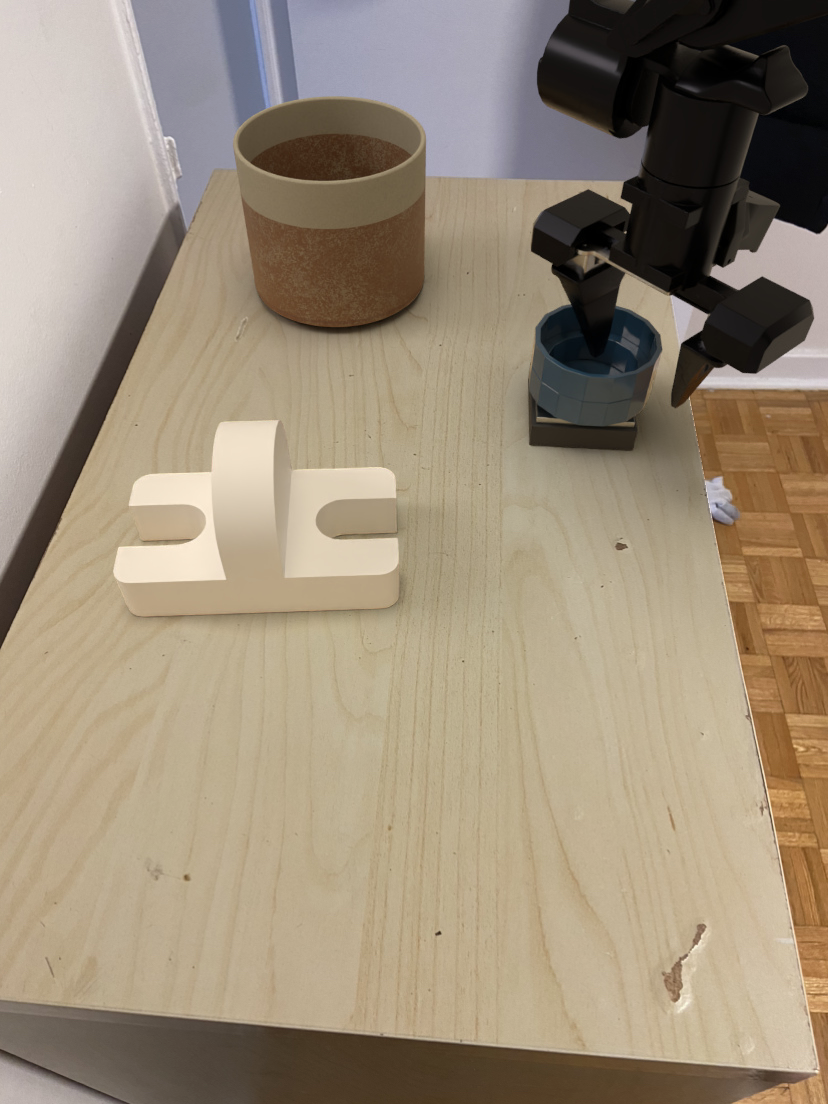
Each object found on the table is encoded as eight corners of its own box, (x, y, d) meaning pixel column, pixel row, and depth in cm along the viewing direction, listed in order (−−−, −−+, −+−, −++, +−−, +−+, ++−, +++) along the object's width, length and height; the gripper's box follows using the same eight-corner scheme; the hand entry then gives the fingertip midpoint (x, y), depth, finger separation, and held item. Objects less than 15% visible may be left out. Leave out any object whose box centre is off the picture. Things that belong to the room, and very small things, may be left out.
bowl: (668, 417, 64) (684, 364, 60) (556, 441, 62) (565, 388, 58) (615, 346, 69) (626, 293, 66) (510, 367, 68) (516, 313, 64)
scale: (624, 384, 70) (630, 359, 68) (632, 450, 65) (639, 425, 63) (527, 380, 71) (531, 354, 69) (529, 445, 66) (532, 420, 64)
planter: (433, 328, 75) (436, 177, 65) (254, 339, 74) (228, 187, 64) (415, 235, 85) (415, 91, 75) (257, 243, 84) (235, 99, 74)
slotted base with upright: (400, 607, 55) (397, 494, 47) (124, 617, 55) (73, 504, 47) (395, 501, 62) (393, 385, 53) (148, 509, 61) (106, 392, 53)
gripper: (912, 181, 48) (812, 396, 60) (654, 79, 57) (612, 283, 69) (799, 248, 43) (715, 467, 55) (538, 126, 52) (515, 336, 64)
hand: (636, 379), depth 61 cm, fingers open, 7 cm apart
